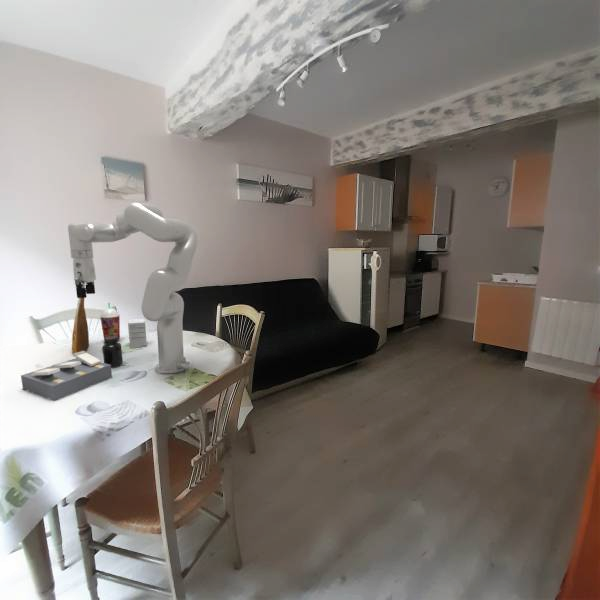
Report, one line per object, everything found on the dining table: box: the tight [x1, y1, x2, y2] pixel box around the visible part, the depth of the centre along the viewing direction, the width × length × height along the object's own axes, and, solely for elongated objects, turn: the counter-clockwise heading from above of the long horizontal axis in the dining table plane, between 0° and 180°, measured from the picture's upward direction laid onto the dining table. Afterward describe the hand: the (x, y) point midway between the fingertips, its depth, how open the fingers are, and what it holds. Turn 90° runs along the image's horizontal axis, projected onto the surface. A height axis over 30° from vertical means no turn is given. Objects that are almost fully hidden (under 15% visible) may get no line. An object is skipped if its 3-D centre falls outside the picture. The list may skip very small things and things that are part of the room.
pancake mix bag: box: [71, 298, 90, 356], centre depth 147 cm, size 7×19×28 cm, turn 25°
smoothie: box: [99, 302, 121, 342], centre depth 160 cm, size 8×8×20 cm
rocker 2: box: [53, 361, 81, 368], centre depth 115 cm, size 10×4×1 cm, turn 66°
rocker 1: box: [31, 367, 60, 376], centre depth 109 cm, size 10×4×1 cm, turn 66°
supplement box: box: [127, 318, 148, 349], centre depth 156 cm, size 7×7×13 cm
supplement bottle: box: [101, 336, 124, 369], centre depth 132 cm, size 7×7×12 cm
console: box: [20, 357, 113, 401], centre depth 116 cm, size 18×20×6 cm
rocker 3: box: [73, 351, 101, 366], centre depth 121 cm, size 10×4×1 cm, turn 66°
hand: (86, 295), depth 134 cm, fingers open, 9 cm apart
